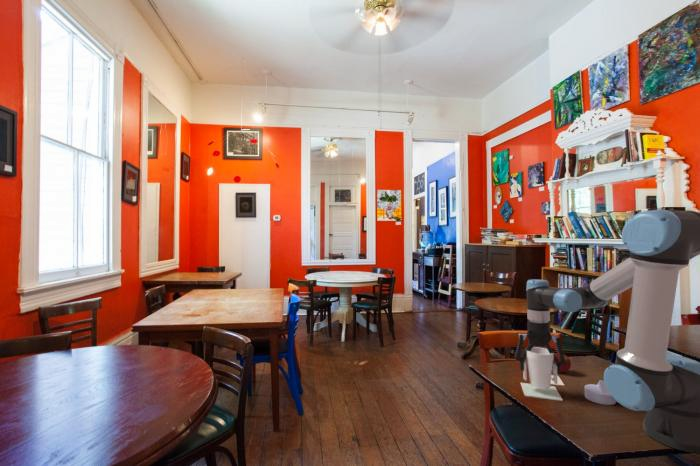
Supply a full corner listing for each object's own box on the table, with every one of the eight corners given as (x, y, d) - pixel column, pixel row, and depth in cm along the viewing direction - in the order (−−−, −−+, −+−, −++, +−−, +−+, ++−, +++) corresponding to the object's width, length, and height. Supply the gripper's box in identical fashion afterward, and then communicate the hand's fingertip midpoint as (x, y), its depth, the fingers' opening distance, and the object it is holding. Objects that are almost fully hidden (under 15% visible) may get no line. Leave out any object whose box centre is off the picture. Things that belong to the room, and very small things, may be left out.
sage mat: (562, 401, 120) (562, 399, 120) (524, 396, 124) (524, 395, 124) (554, 387, 131) (554, 386, 131) (520, 383, 135) (520, 382, 135)
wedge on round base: (626, 398, 122) (582, 391, 128) (625, 379, 122) (582, 373, 128) (633, 409, 114) (587, 401, 120) (633, 389, 114) (586, 382, 120)
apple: (553, 374, 144) (552, 355, 145) (548, 367, 152) (547, 349, 152) (573, 376, 142) (573, 357, 142) (567, 369, 150) (566, 351, 150)
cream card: (564, 385, 133) (564, 385, 133) (535, 382, 136) (535, 381, 136) (558, 376, 142) (558, 375, 142) (531, 373, 146) (531, 372, 146)
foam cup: (558, 392, 122) (557, 355, 123) (530, 390, 124) (529, 354, 124) (549, 381, 131) (548, 347, 132) (523, 379, 133) (522, 346, 134)
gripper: (569, 320, 128) (571, 380, 128) (505, 316, 136) (506, 373, 135) (575, 325, 121) (577, 388, 120) (507, 320, 129) (508, 380, 128)
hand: (540, 380), depth 128 cm, fingers closed on foam cup, 9 cm apart
